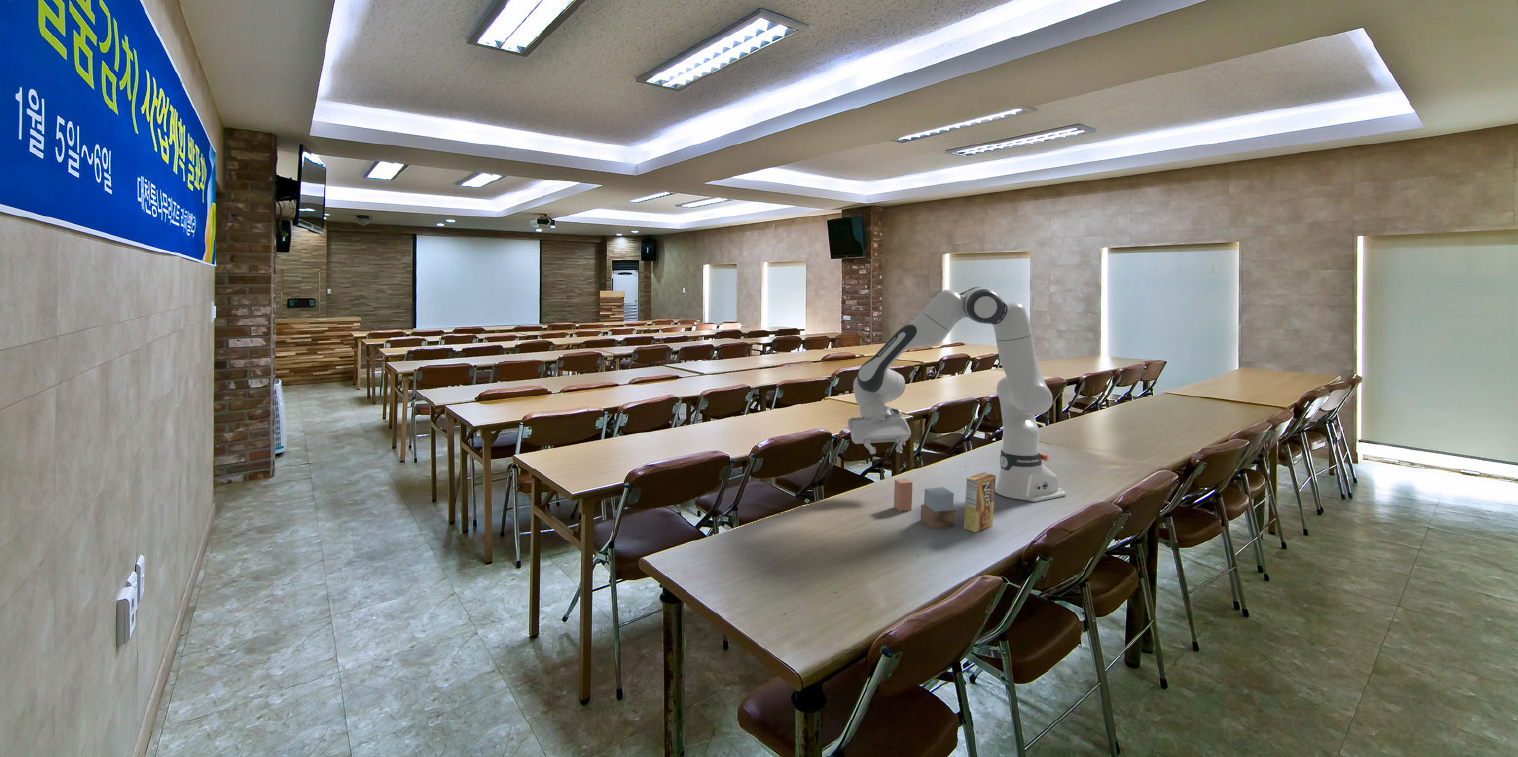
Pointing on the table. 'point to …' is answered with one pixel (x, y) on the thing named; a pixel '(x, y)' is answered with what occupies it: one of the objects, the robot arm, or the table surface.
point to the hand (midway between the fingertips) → (886, 452)
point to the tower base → (937, 517)
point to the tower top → (938, 499)
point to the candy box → (979, 501)
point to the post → (903, 494)
